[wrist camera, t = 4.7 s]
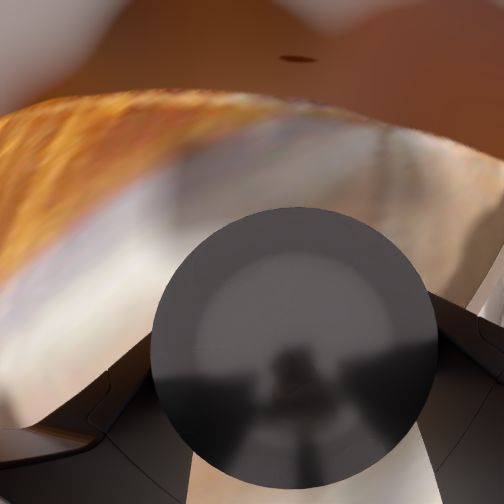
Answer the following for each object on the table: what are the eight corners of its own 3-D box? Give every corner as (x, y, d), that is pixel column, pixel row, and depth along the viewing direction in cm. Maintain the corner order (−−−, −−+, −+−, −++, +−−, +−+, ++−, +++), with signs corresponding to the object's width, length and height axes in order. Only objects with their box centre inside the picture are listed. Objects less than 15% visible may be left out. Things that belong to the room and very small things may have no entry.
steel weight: (368, 352, 14) (483, 341, 4) (290, 424, 13) (279, 532, 4) (297, 279, 15) (298, 160, 6) (220, 348, 15) (104, 331, 5)
